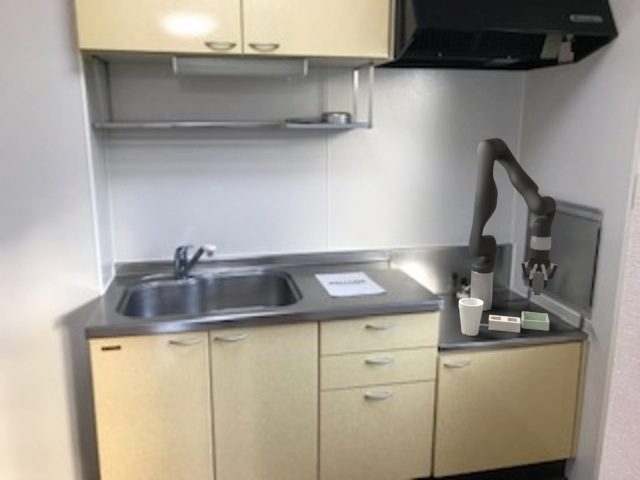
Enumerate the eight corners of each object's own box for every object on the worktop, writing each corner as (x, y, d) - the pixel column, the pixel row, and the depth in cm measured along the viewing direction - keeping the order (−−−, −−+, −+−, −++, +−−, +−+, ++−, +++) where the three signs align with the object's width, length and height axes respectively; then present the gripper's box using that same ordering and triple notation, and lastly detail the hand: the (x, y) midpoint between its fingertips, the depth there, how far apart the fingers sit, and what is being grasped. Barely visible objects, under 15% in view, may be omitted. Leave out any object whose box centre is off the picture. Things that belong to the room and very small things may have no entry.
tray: (521, 319, 226) (521, 311, 225) (546, 321, 223) (547, 313, 222) (522, 328, 217) (522, 320, 216) (548, 330, 214) (549, 322, 213)
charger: (531, 291, 220) (532, 270, 218) (542, 292, 219) (543, 271, 217) (531, 296, 215) (533, 274, 213) (543, 297, 214) (544, 274, 211)
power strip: (473, 322, 224) (474, 312, 223) (519, 326, 218) (520, 316, 217) (473, 327, 218) (473, 317, 217) (519, 332, 213) (520, 322, 212)
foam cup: (467, 338, 208) (468, 307, 205) (453, 330, 217) (454, 300, 214) (487, 334, 212) (488, 303, 209) (472, 326, 220) (473, 296, 217)
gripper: (559, 245, 214) (555, 286, 217) (521, 243, 218) (518, 283, 222) (560, 250, 207) (557, 292, 211) (521, 248, 211) (518, 289, 215)
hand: (537, 287), depth 216 cm, fingers closed on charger, 4 cm apart
